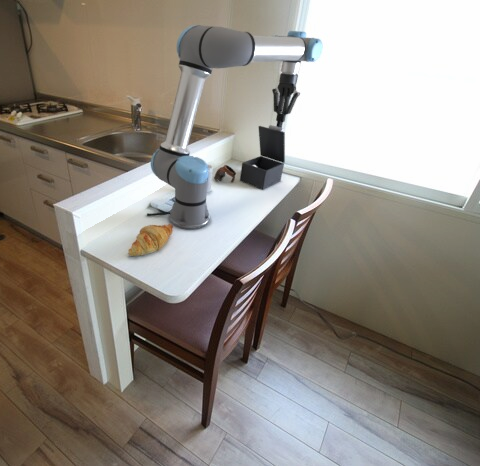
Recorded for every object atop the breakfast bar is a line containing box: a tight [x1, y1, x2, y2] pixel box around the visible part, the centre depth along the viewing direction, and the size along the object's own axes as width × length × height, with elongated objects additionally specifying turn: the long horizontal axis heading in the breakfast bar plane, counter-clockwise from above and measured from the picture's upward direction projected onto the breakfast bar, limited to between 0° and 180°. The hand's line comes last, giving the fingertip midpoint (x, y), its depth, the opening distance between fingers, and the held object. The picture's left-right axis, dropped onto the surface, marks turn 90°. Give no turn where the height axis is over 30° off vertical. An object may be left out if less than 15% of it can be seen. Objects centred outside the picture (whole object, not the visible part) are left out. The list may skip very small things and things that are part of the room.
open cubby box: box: [239, 155, 285, 190], centre depth 157 cm, size 16×14×9 cm
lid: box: [258, 124, 286, 164], centre depth 153 cm, size 16×14×5 cm
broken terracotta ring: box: [213, 164, 237, 183], centre depth 156 cm, size 12×10×8 cm
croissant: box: [127, 223, 174, 257], centre depth 107 cm, size 21×10×8 cm, turn 145°
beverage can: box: [207, 163, 214, 194], centre depth 143 cm, size 6×6×12 cm
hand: (278, 128), depth 151 cm, fingers closed
